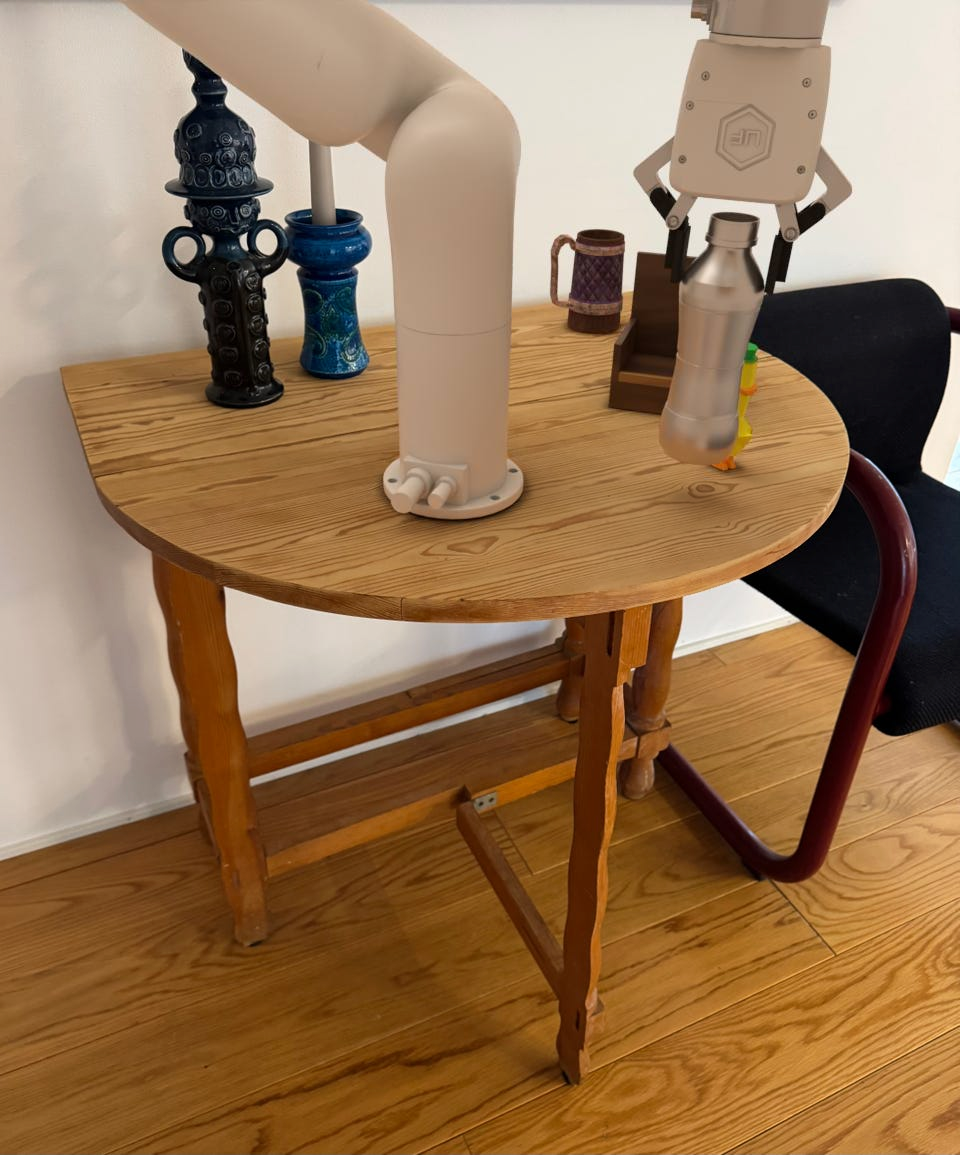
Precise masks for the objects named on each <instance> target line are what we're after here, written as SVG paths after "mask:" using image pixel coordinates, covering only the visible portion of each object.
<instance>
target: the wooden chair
mask: <svg viewBox="0 0 960 1155" xmlns="http://www.w3.org/2000/svg"><path fill="white" fill-rule="evenodd" d="M665 256H666V253H662V252H661V253H660V252H650V251H649V252H648V251H641V250H639V251H637V252H636V259H635V260H636V263H635V270H634V272H635V273H634V281H633V290H632V300H631V311H630V318H629V319H628V321H627V322H626V324H625V326H624V328H623V329H622V330H621V332H620V334H619V335H618V337H617V339H616V340H615V342H614V343H613V352H612V360H611V361H612V362H611V373H610V383H609V392H608V404H607V405H608V408H612V409H613V408H614V409H618V410H619V409H621V410H628V411H635V412H641V413H650V414H656V415H662V412H663V409H664V406H665V404H666V402H667V400H668V395H669V391H670V387H671V382H672V378H673V374H674V370H675V365H676V355H677V352H678V349H677V345H678V334H679V298H680V297H679V287H680V282H681V280H682V279H681V280H680V282H677V284H673V283H670V277H671V270H672V269H664V263H665ZM697 257H698V256H694V255H693V256H692V255H687V258H686V264H685V271H686V270H687V268H688V267H689V266H690V265H691V264H692V262H693V261H694V260H695V259H696V258H697ZM685 271H684V273H685Z"/></svg>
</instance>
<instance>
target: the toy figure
mask: <svg viewBox="0 0 960 1155" xmlns="http://www.w3.org/2000/svg"><path fill="white" fill-rule="evenodd" d="M758 349H759V346H757V344H754V343H752V342H749V344H748V349H747V353H746V356H745V358H744V365H743V369H742V375H741V385H740V395H739V405H738V411H739V431H738V438H737V440H736V443H735V445H734V448H733V451H732V452H731V453H730V455H728V456H727V457H726V458H725V459H724V460H723V461H721V462H719V463H716V464H712V465H711V466H712V467H714V468H716V469H719V470H720V471H724V472H725V471H728V470H729V469H730V470H733V469H736V466H737V465H736V464H735V462H734V458H735V457H736V456H738V455H739V454H740V453H741V452H742V450H744V448H746V447H747V445H748V444H749V442H750V441H751V440H752V439H753V438H754V435H753V431H754V428H753V427H752V426H751V425H750V424H749V422H748V420H747V419H746V417H745V414H746V412H747V408H748V406H749V402H750V398H751V396H753V395H754V394H755V393H757V391H758V387H757V386H756V383H755V379H756V375H757V374H756V372H757V367H758V361H759V356H757V355H756V354H757V351H758Z"/></svg>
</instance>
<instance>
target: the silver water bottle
mask: <svg viewBox="0 0 960 1155" xmlns="http://www.w3.org/2000/svg"><path fill="white" fill-rule="evenodd" d="M760 225H761V218H760V217H759V216H757V215H754V214H750V213H744V212H739V211H738V212H737V211H717V212H713V213H711V214H710V217H709V220H708V226H707V231H706V232H705V236H704V241H705V242H707V245H706V248H705V249H704V250H703V251H702V252H701V253H699V255H698V256H696V257H697V258H696V259H695V260H694V261H693V262H692V264H691V265H690V266H689V267H688V268H687V270H686V271H685V273H684V275H683V277H682V280H681V282H680V287H679V297H680V298H679V334H678V345H677V349H678V352H677V355H676V365H675V370H674V374H673V378H672V382H671V387H670V391H669V395H668V400H667V402H666V404H665V406H664V409H663V412H662V414H660V415H661V416H660V419H659V423H658V443H659V445H660V447H661V448H662V450H663V452H664V454H665V455H666V456H668V457H669V458H671V459H672V460H675V461H677V462H680V463H683V464H689V465H694V466H695V465H696V466H709V465H711V466H712V464H716V463H719V462H721V461H723V460H724V459H725V458H726V457H727V456H728V455H730V453H731V452H732V451H733V448H734V445H735V443H736V440H737V438H738V431H739V411H738V405H739V395H740V385H741V375H742V369H743V365H744V358H745V356H746V353H747V349H748V344H749V343H750V340H751V337H752V333H753V331H754V328H755V325H756V322H757V319H758V317H759V314H760V310H761V306H762V304H763V301H764V297H765V295H766V293H764V288H765V279H764V276H763V273H762V272H761V268H760V266H759V264H758V261H757V260H756V258H755V256H754V254H753V247H756V246H757V245H758V241H759V235H758V234H759V231H760V230H759V229H760Z"/></svg>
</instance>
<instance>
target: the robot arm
mask: <svg viewBox="0 0 960 1155" xmlns="http://www.w3.org/2000/svg"><path fill="white" fill-rule="evenodd" d="M118 1H119V2H120V3H121V4H122V5H124V6H125V7H126V8H127V9H128V10H129V11H131V12H132V13H133V14H135V15H136V16H137V17H138V18H140V19H141V20H143V21H144V22H145V23H147V24H148V25H149V26H150V27H152V28H153V29H154V30H156V31H157V32H159V33H160V34H162V35H163V36H165V38H167V39H169V41H172V42H173V43H174V44H176V45H177V46H178V47H180V48H182V50H184V51H186V52H187V53H188V54H189V55H191V56H192V57H194V58H195V59H196V60H198V61H199V62H200V63H202V64H203V65H204V66H206V67H207V68H208V69H210V71H212V72H213V73H214V74H216V75H217V76H219V77H220V78H221V79H223V80H224V81H225V82H227V83H228V84H229V85H231V86H233V87H234V88H235V89H237V90H239V91H240V92H241V93H243V95H245V96H247V97H248V98H250V99H251V100H252V101H254V102H255V103H257V104H258V105H259V106H261V107H262V108H263V109H265V110H267V111H268V112H269V113H271V114H272V115H273V116H274V117H276V118H277V119H279V121H281V122H282V123H284V124H285V125H286V126H287V127H289V128H290V129H291V130H292V131H294V132H295V133H297V134H298V135H300V136H301V137H303V138H305V139H306V140H308V141H310V142H312V143H314V144H317V145H319V146H324V147H331V148H332V147H334V148H335V147H336V148H340V147H345V146H346V147H347V146H349V145H352V144H355V143H358V144H359V145H361V146H362V147H363V148H365V149H366V150H368V151H369V152H371V153H372V154H374V155H375V156H376V157H377V158H379V159H381V160H382V161H383V162H385V163H386V164H385V170H384V198H385V199H384V201H385V208H386V209H385V211H386V219H387V227H388V235H389V245H390V253H391V254H390V255H391V256H390V257H391V268H392V271H391V272H392V288H393V290H392V291H393V311H394V312H393V314H394V315H393V316H394V329H395V356H396V357H395V359H396V387H397V389H396V390H397V414H398V416H397V418H398V444H399V446H398V447H399V457H397V458H396V459H395V460H394V461H392V462H391V463H390V464H389V465H388V466H387V467H386V469H385V471H384V473H383V478H382V480H383V481H382V482H383V483H382V484H383V491H384V494H385V495H386V497H387V498H388V500H389V501H390V505H391V507H392V509H393V510H395V511H396V512H397V513H401V514H408V513H412V514H414V515H418V516H422V517H426V518H433V519H438V520H467V519H475V518H482V517H486V516H489V515H493V514H496V513H498V512H501V511H503V510H505V509H507V508H508V507H510V506H512V505H513V504H514V503H516V501H517V500H518V499H520V496H522V493H523V490H524V474H523V472H522V469H521V468H520V467H519V466H518V464H517V463H515V462H514V461H512V460H511V459H510V458H509V457H508V443H509V442H508V438H509V409H510V408H509V407H510V404H509V403H510V379H511V378H510V377H511V349H512V304H513V303H512V302H513V272H514V271H513V270H514V236H515V235H514V232H515V231H514V230H515V224H514V223H515V209H516V195H517V193H516V192H517V181H518V176H519V169H520V166H521V158H522V157H521V156H522V142H521V141H522V140H521V135H520V131H519V127H518V124H517V122H516V120H515V116H514V115H513V114H512V112H511V110H510V109H509V107H508V106H507V105H506V104H505V102H504V101H503V100H502V99H501V98H500V97H499V96H498V95H496V94H495V93H494V92H493V91H492V90H491V89H490V88H488V87H487V86H486V85H484V84H483V83H482V82H480V81H479V80H477V79H476V78H475V77H474V76H472V75H471V74H470V73H468V72H467V71H465V69H463V68H462V67H461V66H459V65H458V64H456V63H455V62H454V61H453V60H451V59H450V58H449V57H448V56H446V55H445V54H443V53H442V52H440V51H439V50H438V49H437V48H435V47H434V46H433V45H431V44H430V43H429V42H427V41H426V40H425V39H423V37H421V36H420V35H418V34H417V33H416V32H414V31H413V30H412V29H410V28H409V27H408V26H407V25H405V24H404V23H402V22H401V21H399V20H398V19H397V18H396V17H394V16H393V15H391V14H390V13H388V12H387V11H386V10H384V9H382V8H380V7H379V6H376V5H374V4H373V3H371V2H368V1H366V0H118ZM829 4H830V0H692V1H691V6H690V7H691V8H690V19H694V20H696V19H697V20H700V21H701V22H705V25H706V26H708V32H709V33H708V34H709V35H708V38H701V39H696V42H695V45H694V48H693V51H692V54H691V57H690V62H689V64H688V69H687V73H686V75H685V76H686V77H685V81H684V85H683V89H682V93H681V99H680V106H679V110H678V114H677V120H676V125H675V126H676V127H675V131H674V135H673V136H672V137H671V138H669V139H667V141H666V142H664V143H663V144H662V145H661V146H660V147H659V148H657V149H656V150H654V152H652V153H651V154H650V155H649V156H647V157H646V158H645V159H644V160H643V161H640V163H638V165H636V167H635V168H634V169H633V171H632V173H633V174H632V176H633V177H634V179H635V180H636V181H637V183H638V185H639V186H640V187H641V189H642V191H643V192H644V193H645V194H646V195H647V197H648V198H649V201H650V203H651V204H652V206H653V207H654V208H655V210H656V211H657V213H658V214H659V216H660V217H661V218H662V219H663V220H664V222H665V226H666V228H668V235H667V241H666V250H665V254H666V256H665V263H664V269H672V270H671V277H670V283H673V284H677V282H680V280H681V279H682V277H683V275H684V271H685V264H686V258H687V256H688V250H689V244H690V243H689V242H690V237H691V230H692V225H690V222H689V220H690V217H689V215H688V214H689V213H690V211H691V209H692V208H693V207H694V205H695V203H696V201H697V199H698V198H703V199H714V200H724V201H734V202H745V203H754V204H756V203H757V204H764V205H765V204H767V205H774V209H775V212H776V215H777V220H778V224H779V228H778V232H777V234H775V236H774V239H773V243H772V247H771V253H770V258H769V263H768V268H767V272H766V278H765V282H764V286H765V288H764V293H765V295H766V296H774V291H775V287H776V283H786V280H787V276H788V271H789V266H790V261H791V256H792V251H793V247H794V242H795V241H797V240H798V238H799V237H800V236H802V235H803V234H804V233H806V232H807V231H809V230H810V229H811V228H812V227H815V225H816V224H818V223H819V222H821V221H822V220H823V219H824V218H825V217H826V216H827V215H828V214H829V213H831V212H832V211H834V210H835V209H836V208H837V207H839V206H840V205H841V204H842V203H844V202H845V201H846V200H847V199H848V198H850V197H851V195H852V193H853V185H852V183H851V181H850V180H849V179H848V177H847V176H846V175H845V174H844V173H843V171H842V170H841V169H840V167H839V166H838V165H837V163H836V162H835V161H834V159H833V158H832V157H831V155H830V154H829V153H828V152H827V150H826V149H825V148H824V147H823V145H822V137H823V133H824V132H823V131H824V126H825V120H826V113H827V107H828V100H829V93H830V86H831V85H830V82H831V71H832V70H831V69H832V47H831V46H829V45H826V44H822V41H823V35H824V30H825V25H826V19H827V15H828V9H829V6H830V5H829ZM668 163H670V164H669V172H668V173H669V175H668V180H669V185H670V186H671V188H672V189H673V190H674V191H676V192H677V193H679V194H680V195H679V196H678V197H677V199H676V198H675V196H674V195H673V194H672V192H671V191H670V190H669V188H668V187H667V186H666V185H665V184H664V183H663V181H662V179H661V178H660V176H659V171H660V170H661V169H662V168H663V167H664V166H666V165H667V164H668ZM815 175H817V176H818V178H820V180H821V181H822V182H823V184H824V186H826V190H825V191H824V192H823V193H822V194H821V195H820V196H818V198H816V199H815V200H813V201H812V202H810V203H809V204H808V205H806V206H805V207H804V208H803V209H801V210H800V211H799V210H798V206H797V203H799V202H801V201H803V200H804V199H805V198H806V197H807V196H808V195H809V193H810V191H811V188H812V186H813V183H814V179H815Z"/></svg>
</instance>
